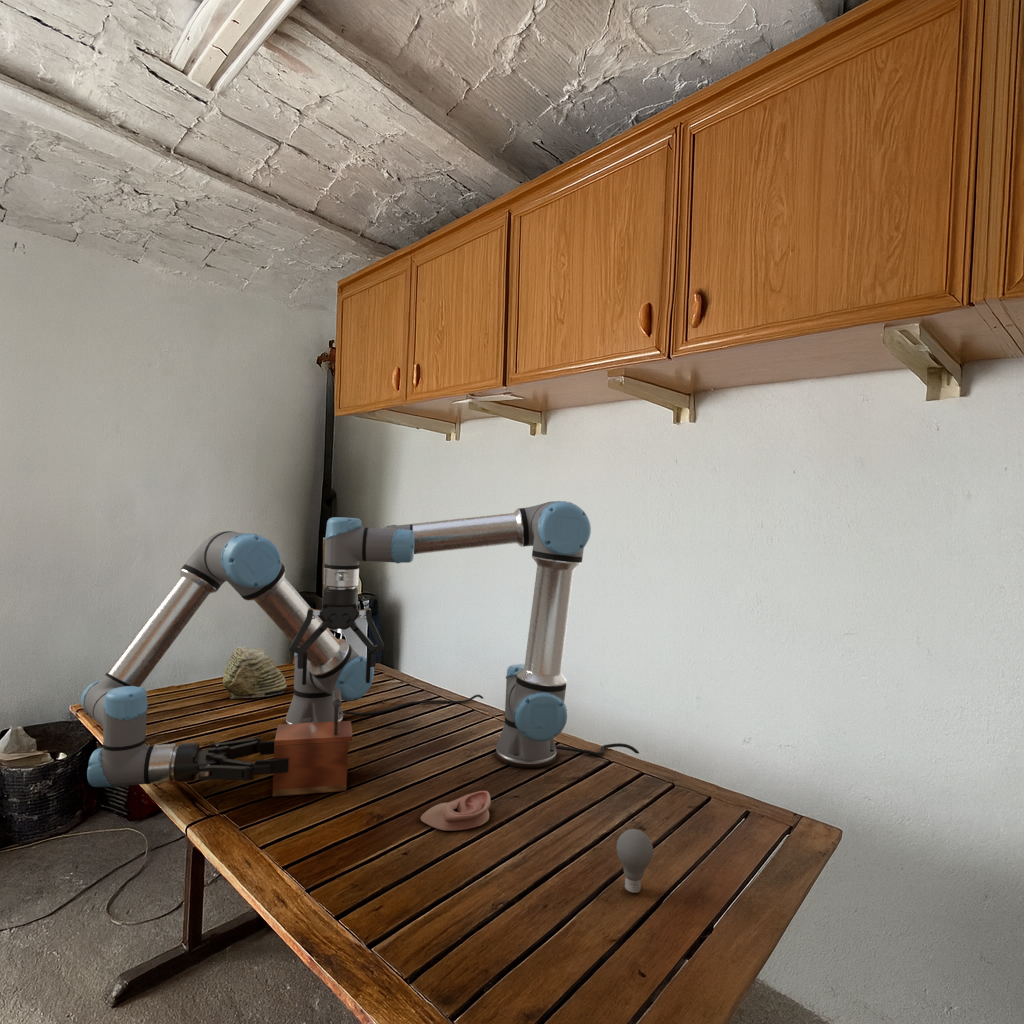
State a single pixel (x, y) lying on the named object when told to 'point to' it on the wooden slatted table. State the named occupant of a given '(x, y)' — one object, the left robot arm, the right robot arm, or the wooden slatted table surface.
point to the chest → (311, 768)
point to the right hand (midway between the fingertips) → (336, 682)
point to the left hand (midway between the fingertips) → (289, 755)
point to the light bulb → (634, 857)
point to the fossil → (252, 674)
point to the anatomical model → (459, 812)
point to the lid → (316, 729)
